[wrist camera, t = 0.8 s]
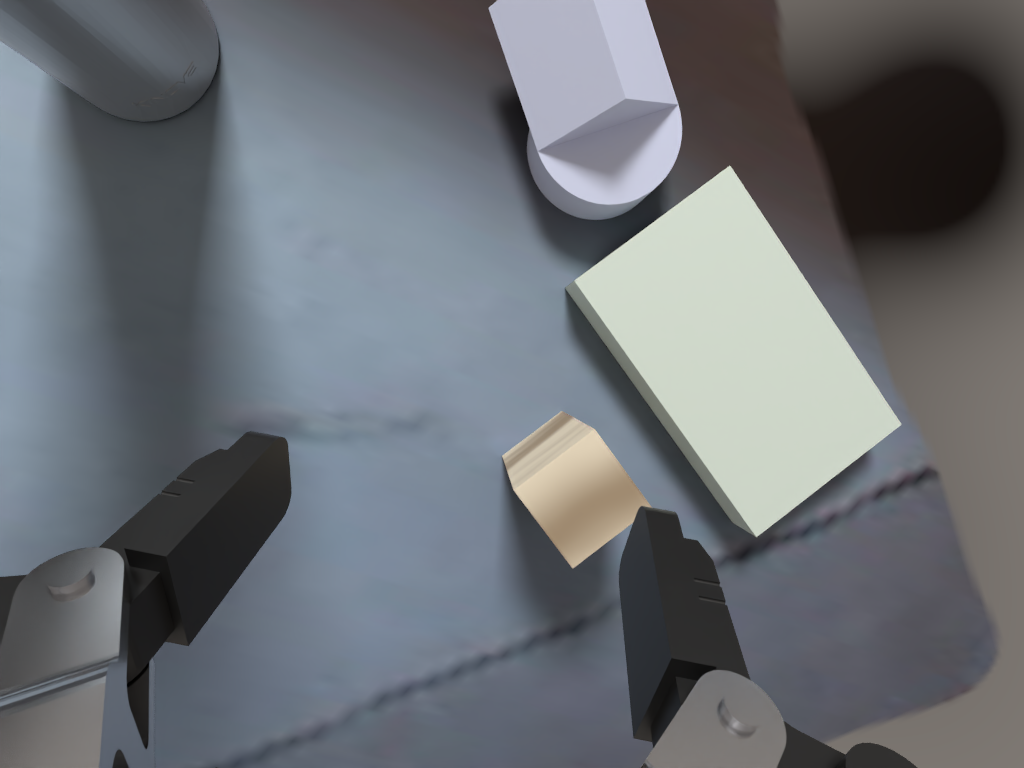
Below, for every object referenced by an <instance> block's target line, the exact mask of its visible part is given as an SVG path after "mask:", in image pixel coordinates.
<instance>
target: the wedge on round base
mask: <svg viewBox="0 0 1024 768" xmlns="http://www.w3.org/2000/svg"><path fill="white" fill-rule="evenodd" d="M489 11H490V14H491V17H492V20H493V23H494V26H495V29H496V31H497V34H498V37H499V40H500V43H501V46H502V49H503V52H504V55H505V58H506V61H507V64H508V66H509V69H510V72H511V75H512V78H513V81H514V84H515V87H516V90H517V93H518V96H519V99H520V101H521V104H522V107H523V110H524V113H525V116H526V119H527V122H528V125H529V128H530V129H529V133H528V140H527V157H528V164H529V167H530V171H531V174H532V176H533V178H534V181H535V183H536V184H537V186H538V188H539V189H540V191H541V192H542V193H543V195H544V196H545V197H546V198H547V199H548V200H549V201H550V202H551V203H552V204H553V205H555V206H556V207H557V208H559V209H560V210H562V211H564V212H566V213H567V214H570V215H572V216H575V217H578V218H583V219H589V220H604V219H609V218H613V217H616V216H619V215H622V214H624V213H626V212H628V211H629V210H631V209H632V208H634V207H635V206H636V205H638V204H639V203H640V202H641V201H642V200H643V199H644V198H645V197H646V196H647V195H648V194H649V193H650V192H652V191H653V190H654V189H655V188H656V187H657V186H658V185H659V184H660V183H661V182H662V181H663V180H664V179H665V177H666V176H667V175H668V173H669V172H670V170H671V168H672V167H673V165H674V163H675V160H676V158H677V156H678V152H679V149H680V145H681V138H682V121H681V114H680V110H679V106H678V102H677V99H676V96H675V93H674V90H673V87H672V84H671V81H670V77H669V74H668V71H667V68H666V65H665V62H664V59H663V56H662V53H661V49H660V46H659V43H658V40H657V37H656V34H655V31H654V28H653V24H652V21H651V18H650V15H649V12H648V9H647V6H646V3H645V0H497V1H496V2H495V3H494V4H493V5H491V6H490V7H489Z"/></svg>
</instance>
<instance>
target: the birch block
mask: <svg viewBox="0 0 1024 768" xmlns="http://www.w3.org/2000/svg"><path fill="white" fill-rule="evenodd" d="M502 457H503V460H504V463H505V466H506V469H507V472H508V475H509V478H510V481H511V484H512V487H513V490H514V491H515V493H516V494H517V495H518V497H519V498H520V499H521V501H522V502H523V503H524V505H525V506H526V507H527V509H528V510H529V511H530V513H531V514H532V515H533V517H534V518H535V519H536V521H537V522H538V523H539V525H540V526H541V527H542V528H543V530H544V531H545V532H546V534H547V535H548V536H549V538H550V539H551V540H552V542H553V543H554V544H555V546H556V547H557V548H558V550H559V551H560V552H561V554H562V555H563V556H564V558H565V559H566V560H567V562H568V563H569V564H570V566H571V567H572V568H574V567H576V566H577V565H578V564H580V563H581V562H582V561H583V560H585V559H586V558H587V557H589V556H590V555H591V554H593V553H594V552H595V551H596V550H598V549H599V548H600V547H602V546H603V545H604V544H606V543H607V542H608V541H610V540H611V539H612V538H613V537H615V536H616V535H617V534H619V533H620V532H621V531H623V530H624V529H625V528H627V527H628V526H629V525H630V524H632V523H633V522H634V520H635V517H636V514H637V511H638V509H639V508H640V507H641V506H646V507H651V506H650V504H649V503H648V502H647V500H646V499H645V498H644V496H643V495H642V494H641V492H640V491H639V489H638V488H637V487H636V485H635V484H634V483H633V481H632V480H631V478H630V477H629V476H628V474H627V473H626V472H625V470H624V469H623V467H622V466H621V465H620V463H619V462H618V461H617V459H616V458H615V456H614V455H613V454H612V452H611V451H610V450H609V448H608V447H607V445H606V444H605V443H604V441H603V440H602V439H601V437H600V436H599V434H598V433H597V432H596V430H595V429H593V428H592V427H590V426H588V425H586V424H584V423H583V422H581V421H579V420H577V419H575V418H574V417H572V416H570V415H568V414H566V413H565V412H563V411H561V412H560V413H559V414H557V415H556V416H555V417H553V418H552V419H551V420H549V421H548V422H547V423H545V424H544V425H543V426H541V427H540V428H539V429H537V430H536V431H535V432H533V433H532V434H531V435H529V436H528V437H527V438H525V439H524V440H523V441H521V442H520V443H519V444H517V445H516V446H515V447H513V448H512V449H511V450H509V451H508V452H507V453H505V454H504V455H503V456H502ZM651 508H652V507H651Z"/></svg>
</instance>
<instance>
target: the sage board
mask: <svg viewBox="0 0 1024 768" xmlns="http://www.w3.org/2000/svg"><path fill="white" fill-rule="evenodd" d="M565 289H566V290H567V291H568V293H569V294H570V296H571V297H572V298H573V300H574V301H575V303H576V304H577V306H578V307H579V308H580V310H581V311H582V313H583V314H584V315H585V317H586V318H587V320H588V321H589V322H590V324H591V325H592V327H593V328H594V329H595V331H596V332H597V334H598V335H599V336H600V338H601V339H602V341H603V342H604V343H605V345H606V346H607V348H608V349H609V350H610V352H611V353H612V355H613V356H614V357H615V359H616V360H617V362H618V363H619V364H620V366H621V367H622V369H623V370H624V371H625V373H626V374H627V376H628V377H629V378H630V380H631V381H632V383H633V384H634V385H635V387H636V388H637V390H638V391H639V392H640V394H641V395H642V397H643V398H644V399H645V401H646V402H647V404H648V405H649V406H650V408H651V409H652V411H653V412H654V413H655V415H656V416H657V418H658V419H659V420H660V422H661V423H662V425H663V426H664V427H665V429H666V430H667V432H668V433H669V434H670V436H671V437H672V439H673V440H674V441H675V443H676V444H677V446H678V447H679V448H680V450H681V451H682V453H683V454H684V455H685V457H686V458H687V460H688V461H689V462H690V464H691V465H692V467H693V468H694V469H695V471H696V472H697V474H698V475H699V476H700V478H701V479H702V481H703V482H704V484H705V485H706V486H707V488H708V489H709V491H710V492H711V493H712V495H713V496H714V498H715V499H716V500H717V502H718V503H719V505H720V506H721V507H722V509H723V510H724V512H725V513H726V514H727V516H728V517H729V519H730V520H731V521H732V523H734V524H736V525H737V526H739V527H741V528H742V529H744V530H745V531H747V532H749V533H750V534H752V535H753V536H755V537H758V536H759V535H760V534H761V533H763V532H764V531H765V530H767V529H768V528H769V527H770V526H772V525H773V524H774V523H776V522H777V521H778V520H779V519H781V518H782V517H783V516H785V515H786V514H787V513H788V512H790V511H791V510H792V509H794V508H795V507H796V506H797V505H799V504H800V503H801V502H803V501H804V500H805V499H806V498H808V497H809V496H810V495H812V494H813V493H814V492H815V491H817V490H818V489H819V488H821V487H822V486H823V485H824V484H826V483H827V482H828V481H830V480H831V479H832V478H833V477H835V476H836V475H837V474H839V473H840V472H841V471H842V470H844V469H845V468H846V467H848V466H849V465H850V464H851V463H853V462H854V461H855V460H857V459H858V458H859V457H860V456H862V455H863V454H864V453H866V452H867V451H868V450H869V449H871V448H872V447H873V446H875V445H876V444H877V443H878V442H880V441H881V440H882V439H884V438H885V437H886V436H887V435H889V434H890V433H891V432H893V431H894V430H895V429H896V428H898V427H899V426H900V425H901V423H900V422H899V420H898V418H897V417H896V415H895V414H894V412H893V411H892V409H891V408H890V406H889V405H888V403H887V402H886V400H885V399H884V397H883V396H882V394H881V393H880V391H879V390H878V388H877V387H876V385H875V384H874V382H873V381H872V379H871V378H870V376H869V375H868V373H867V372H866V370H865V369H864V367H863V366H862V364H861V363H860V361H859V360H858V358H857V357H856V355H855V354H854V352H853V351H852V349H851V348H850V346H849V345H848V343H847V341H846V340H845V338H844V337H843V335H842V334H841V332H840V331H839V329H838V328H837V326H836V325H835V323H834V322H833V320H832V319H831V317H830V316H829V314H828V313H827V311H826V310H825V308H824V307H823V305H822V304H821V302H820V301H819V299H818V298H817V296H816V295H815V293H814V292H813V290H812V289H811V287H810V286H809V284H808V283H807V281H806V280H805V278H804V277H803V275H802V274H801V272H800V271H799V269H798V267H797V266H796V264H795V263H794V261H793V260H792V258H791V257H790V255H789V254H788V252H787V251H786V249H785V248H784V246H783V245H782V243H781V242H780V240H779V239H778V237H777V236H776V234H775V233H774V231H773V230H772V228H771V227H770V225H769V224H768V222H767V221H766V219H765V218H764V216H763V215H762V213H761V212H760V210H759V209H758V207H757V206H756V204H755V203H754V201H753V200H752V198H751V197H750V195H749V193H748V192H747V190H746V189H745V187H744V186H743V184H742V183H741V181H740V180H739V178H738V177H737V175H736V174H735V172H734V171H733V169H732V168H731V166H729V167H727V168H726V169H725V170H723V171H722V172H721V173H719V174H718V175H717V176H715V177H714V178H713V179H711V180H710V181H709V182H707V183H706V184H704V185H703V186H702V187H700V188H699V189H698V190H696V191H695V192H694V193H692V194H691V195H690V196H688V197H687V198H686V199H684V200H683V201H681V202H680V203H679V204H677V205H676V206H675V207H673V208H672V209H671V210H669V211H668V212H667V213H665V214H664V215H663V216H661V217H660V218H658V219H657V220H656V221H654V222H653V223H652V224H650V225H649V226H648V227H646V228H645V229H644V230H642V231H641V232H640V233H638V234H637V235H635V236H634V237H633V238H631V239H630V240H629V241H627V242H626V243H625V244H623V245H622V246H621V247H619V248H618V249H617V250H615V251H614V252H612V253H611V254H610V255H608V256H607V257H606V258H604V259H603V260H602V261H600V262H599V263H598V264H596V265H595V266H594V267H592V268H591V269H589V270H588V271H587V272H585V273H584V274H583V275H581V276H580V277H579V278H577V279H576V280H575V281H573V282H572V283H571V284H569V285H568V286H567V287H565Z"/></svg>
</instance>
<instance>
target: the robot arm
mask: <svg viewBox="0 0 1024 768" xmlns="http://www.w3.org/2000/svg"><path fill="white" fill-rule="evenodd" d="M0 41H1V42H3V43H4V44H6V45H7V46H9V47H10V48H11V49H13V50H14V51H16V52H17V53H19V54H20V55H22V56H23V57H25V58H26V59H28V60H29V61H30V62H32V63H33V64H35V65H36V66H38V67H39V68H40V69H42V70H43V71H45V72H46V73H48V74H49V75H51V76H52V77H54V78H55V79H57V80H58V81H59V82H61V83H62V84H64V85H65V86H67V87H68V88H70V89H71V90H73V91H74V92H76V93H77V94H79V95H80V96H82V97H83V98H84V99H86V100H87V101H89V102H90V103H92V104H93V105H95V106H97V107H98V108H100V109H102V110H103V111H105V112H107V113H109V114H111V115H114V116H117V117H120V118H123V119H126V120H133V121H141V122H146V121H159V120H163V119H166V118H170V117H173V116H176V115H178V114H179V113H181V112H183V111H185V110H187V109H189V108H190V107H191V106H192V105H193V104H194V103H195V102H197V101H198V100H199V99H200V98H201V97H202V95H203V94H204V93H205V91H206V90H207V88H208V87H209V86H210V84H211V81H212V79H213V77H214V74H215V72H216V68H217V63H218V57H219V45H218V35H217V32H216V28H215V24H214V21H213V19H212V17H211V15H210V13H209V11H208V9H207V7H206V5H205V4H204V3H203V1H202V0H0ZM290 499H291V478H290V465H289V452H288V443H287V441H286V439H285V438H283V437H279V436H274V435H268V434H263V433H258V432H252V431H250V432H247V433H245V434H244V435H243V436H242V437H241V438H240V439H239V440H238V441H237V442H236V443H235V444H234V445H232V446H231V447H230V448H229V449H228V450H223V449H219V450H217V451H215V452H213V453H211V454H209V455H207V456H205V457H203V458H201V459H199V460H197V461H195V462H194V463H193V464H191V465H190V466H189V467H188V468H187V469H186V470H185V471H184V472H183V473H181V474H180V475H179V476H178V477H177V480H176V481H172V482H171V483H170V484H169V485H168V486H167V487H166V488H165V489H164V490H162V494H161V495H160V494H158V495H157V496H156V497H155V498H153V499H152V500H151V501H150V502H149V503H148V504H147V505H146V506H145V507H143V508H142V509H141V510H140V511H139V512H138V513H137V514H136V515H135V516H133V517H132V518H131V519H130V520H129V521H128V522H127V523H126V524H124V525H123V526H122V527H121V528H120V529H119V530H118V531H117V532H116V533H114V534H113V535H112V536H111V537H110V538H109V539H108V540H107V541H105V542H104V543H103V544H102V545H101V546H100V547H92V548H83V549H77V550H73V551H70V552H66V553H64V554H61V555H58V556H56V557H54V558H52V559H50V560H48V561H46V562H44V563H43V564H41V565H39V566H38V567H37V568H35V569H34V570H32V571H31V572H30V573H29V574H28V575H21V576H8V577H0V768H155V665H154V659H153V656H154V655H155V654H156V652H157V651H158V650H159V648H160V647H161V646H162V645H163V643H164V642H165V641H166V642H171V643H176V644H181V645H186V646H189V645H190V643H191V642H192V640H193V639H194V638H195V636H196V635H197V634H198V632H199V631H200V630H201V628H202V627H203V626H204V624H205V623H206V621H207V620H208V619H209V617H210V616H211V615H212V613H213V612H214V611H215V609H216V608H217V607H218V605H219V604H220V603H221V601H222V600H223V598H224V597H225V596H226V594H227V593H228V592H229V590H230V589H231V588H232V586H233V585H234V584H235V582H236V581H237V579H238V578H239V577H240V575H241V574H242V573H243V571H244V570H245V569H246V567H247V566H248V565H249V563H250V562H251V560H252V559H253V558H254V556H255V555H256V554H257V552H258V551H259V550H260V548H261V547H262V546H263V544H264V543H265V541H266V540H267V539H268V537H269V536H270V535H271V533H272V532H273V531H274V529H275V528H276V527H277V525H278V524H279V522H280V521H281V520H282V518H283V517H284V515H285V513H286V511H287V509H288V506H289V503H290ZM719 584H720V582H719V578H718V575H717V572H716V569H715V565H714V562H713V560H712V559H711V558H710V556H709V555H708V554H707V552H706V551H705V550H704V548H703V547H702V546H701V544H700V543H699V542H698V541H697V540H692V539H686V538H683V534H682V530H681V526H680V522H679V518H678V515H677V514H676V513H675V512H672V511H667V510H662V509H656V508H651V507H646V506H641V507H640V508H639V509H638V511H637V514H636V517H635V520H634V522H633V525H632V528H631V531H630V534H629V537H628V540H627V543H626V546H625V549H624V551H623V554H622V558H621V563H620V571H619V588H620V598H621V609H622V620H623V630H624V641H625V652H626V662H627V673H628V684H629V694H630V705H631V716H632V726H633V737H634V738H635V739H640V740H645V741H650V742H652V743H653V750H652V751H651V753H650V754H649V756H648V758H647V759H646V761H645V762H644V763H643V765H642V766H641V768H917V767H916V766H915V765H914V764H912V763H911V762H910V761H908V760H907V759H906V758H904V757H903V756H901V755H900V754H898V753H896V752H895V751H892V750H890V749H888V748H886V747H883V746H881V745H878V744H873V743H861V744H857V745H855V746H854V747H852V748H851V749H850V750H849V752H848V753H847V754H846V755H845V754H843V753H841V752H839V751H837V750H835V749H833V748H831V747H829V746H827V745H825V744H823V743H821V742H819V741H818V740H816V739H814V738H812V737H810V736H808V735H806V734H804V733H802V732H800V731H798V730H797V729H795V728H793V727H791V726H790V725H789V724H787V723H786V722H784V721H783V719H782V717H781V714H780V712H779V711H778V709H777V707H776V706H775V704H774V703H773V701H772V700H771V699H770V698H769V696H768V695H767V694H766V693H765V692H764V691H763V690H762V689H761V688H760V687H758V686H757V685H756V684H755V683H753V682H752V681H751V680H750V677H749V674H748V671H747V668H746V665H745V662H744V658H743V655H742V652H741V649H740V646H739V642H738V639H737V636H736V633H735V630H734V626H733V623H732V620H731V617H730V614H729V610H728V607H727V605H725V598H724V594H723V591H722V588H721V587H720V586H719ZM216 768H217V767H216Z"/></svg>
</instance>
